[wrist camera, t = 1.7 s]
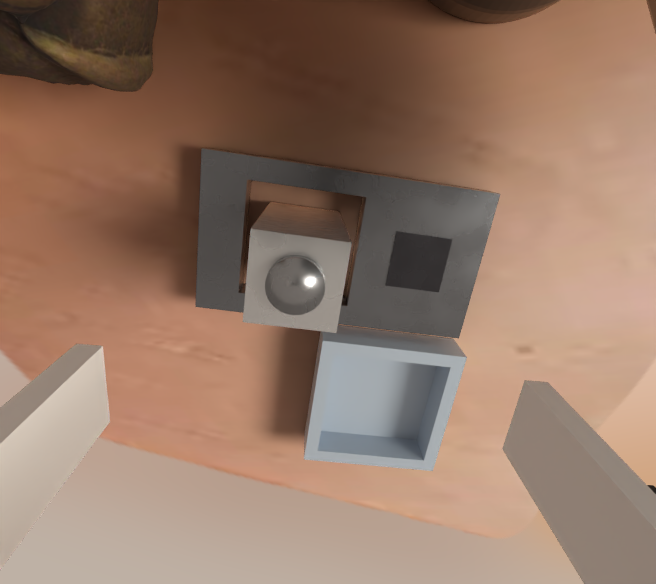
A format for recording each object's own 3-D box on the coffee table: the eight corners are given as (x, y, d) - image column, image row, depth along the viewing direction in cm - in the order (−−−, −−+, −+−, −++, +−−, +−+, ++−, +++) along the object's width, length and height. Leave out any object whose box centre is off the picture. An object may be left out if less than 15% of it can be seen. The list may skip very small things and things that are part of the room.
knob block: (270, 201, 29) (248, 231, 19) (339, 211, 29) (353, 245, 19) (264, 267, 30) (240, 326, 21) (329, 276, 31) (336, 338, 21)
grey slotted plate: (209, 148, 27) (201, 148, 25) (488, 190, 29) (500, 194, 27) (202, 297, 31) (195, 307, 29) (450, 327, 33) (459, 338, 31)
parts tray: (321, 323, 32) (322, 340, 29) (453, 338, 33) (466, 357, 30) (304, 433, 36) (303, 459, 33) (423, 445, 37) (432, 470, 34)
